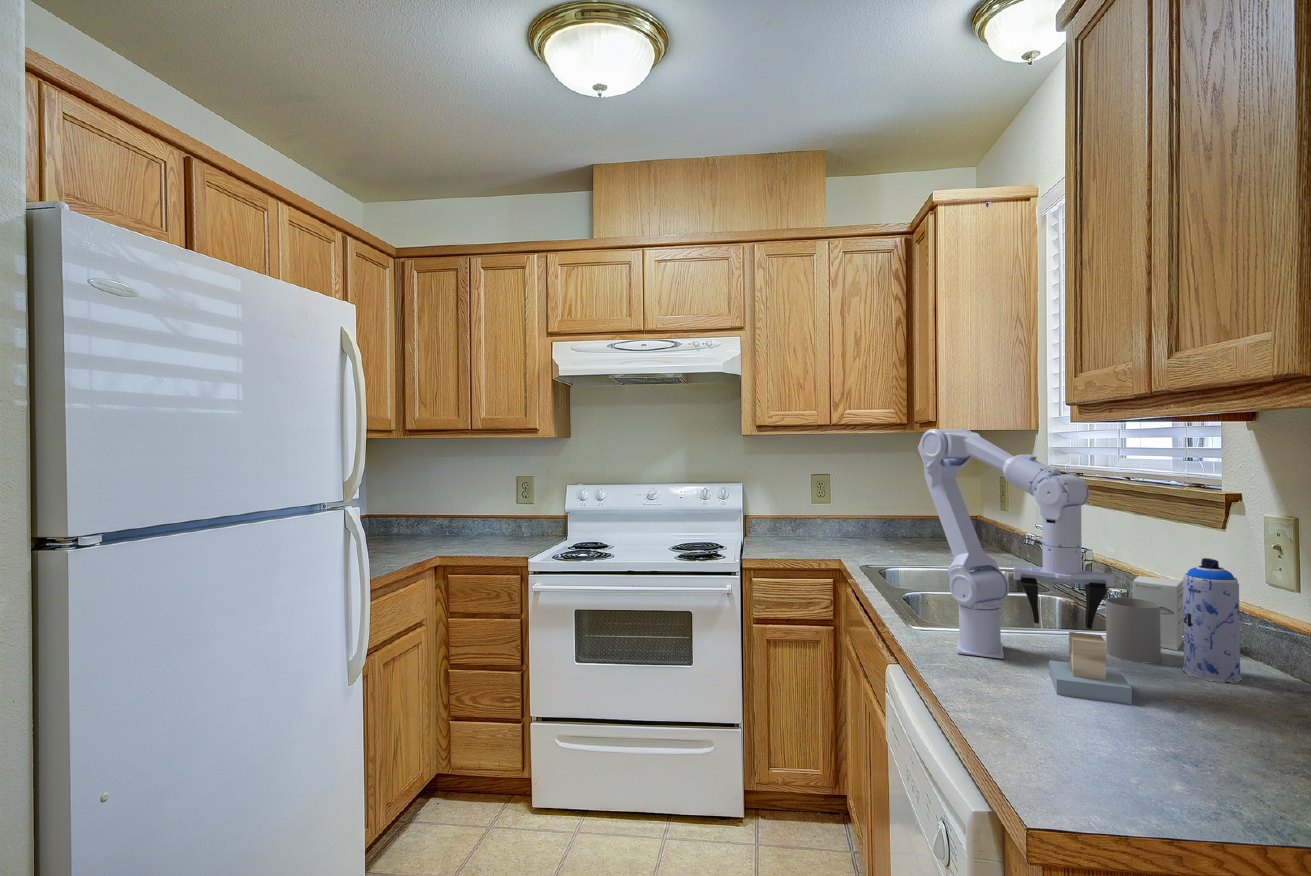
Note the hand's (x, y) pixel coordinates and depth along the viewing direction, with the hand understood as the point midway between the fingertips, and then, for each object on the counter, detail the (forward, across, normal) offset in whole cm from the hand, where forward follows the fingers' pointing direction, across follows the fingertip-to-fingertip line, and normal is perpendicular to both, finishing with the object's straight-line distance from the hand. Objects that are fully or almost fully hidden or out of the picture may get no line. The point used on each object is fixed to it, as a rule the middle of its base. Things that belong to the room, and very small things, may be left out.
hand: (1062, 624), depth 114 cm
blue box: (+10, +3, -3) cm, 11 cm away
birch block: (+7, +3, -4) cm, 8 cm away
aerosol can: (+9, +23, +13) cm, 28 cm away
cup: (+10, +13, +20) cm, 26 cm away
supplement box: (+10, +19, +31) cm, 38 cm away
